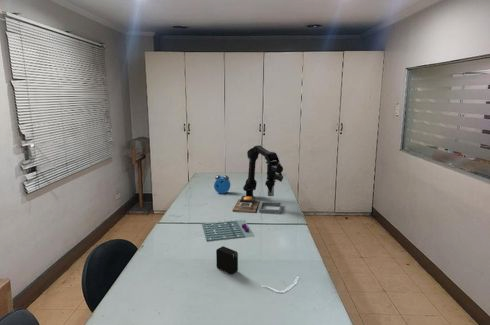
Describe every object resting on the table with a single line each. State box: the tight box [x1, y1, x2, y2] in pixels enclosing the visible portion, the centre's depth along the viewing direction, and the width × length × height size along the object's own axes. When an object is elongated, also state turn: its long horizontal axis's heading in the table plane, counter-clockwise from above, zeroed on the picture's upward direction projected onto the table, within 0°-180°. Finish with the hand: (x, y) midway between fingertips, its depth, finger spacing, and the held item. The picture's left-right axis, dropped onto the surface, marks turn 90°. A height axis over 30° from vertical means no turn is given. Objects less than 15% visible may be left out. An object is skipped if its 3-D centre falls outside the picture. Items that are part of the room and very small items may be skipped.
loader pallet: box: [232, 195, 260, 214], centre depth 241 cm, size 24×16×4 cm, turn 171°
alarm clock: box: [213, 175, 232, 195], centre depth 272 cm, size 13×6×15 cm, turn 86°
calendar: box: [201, 219, 255, 242], centre depth 202 cm, size 27×28×2 cm
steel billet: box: [267, 185, 275, 197], centre depth 233 cm, size 4×4×8 cm
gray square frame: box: [258, 201, 283, 214], centre depth 236 cm, size 16×15×2 cm
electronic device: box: [215, 245, 239, 275], centre depth 155 cm, size 4×10×10 cm, turn 51°
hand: (270, 191), depth 233 cm, fingers closed on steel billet, 4 cm apart
